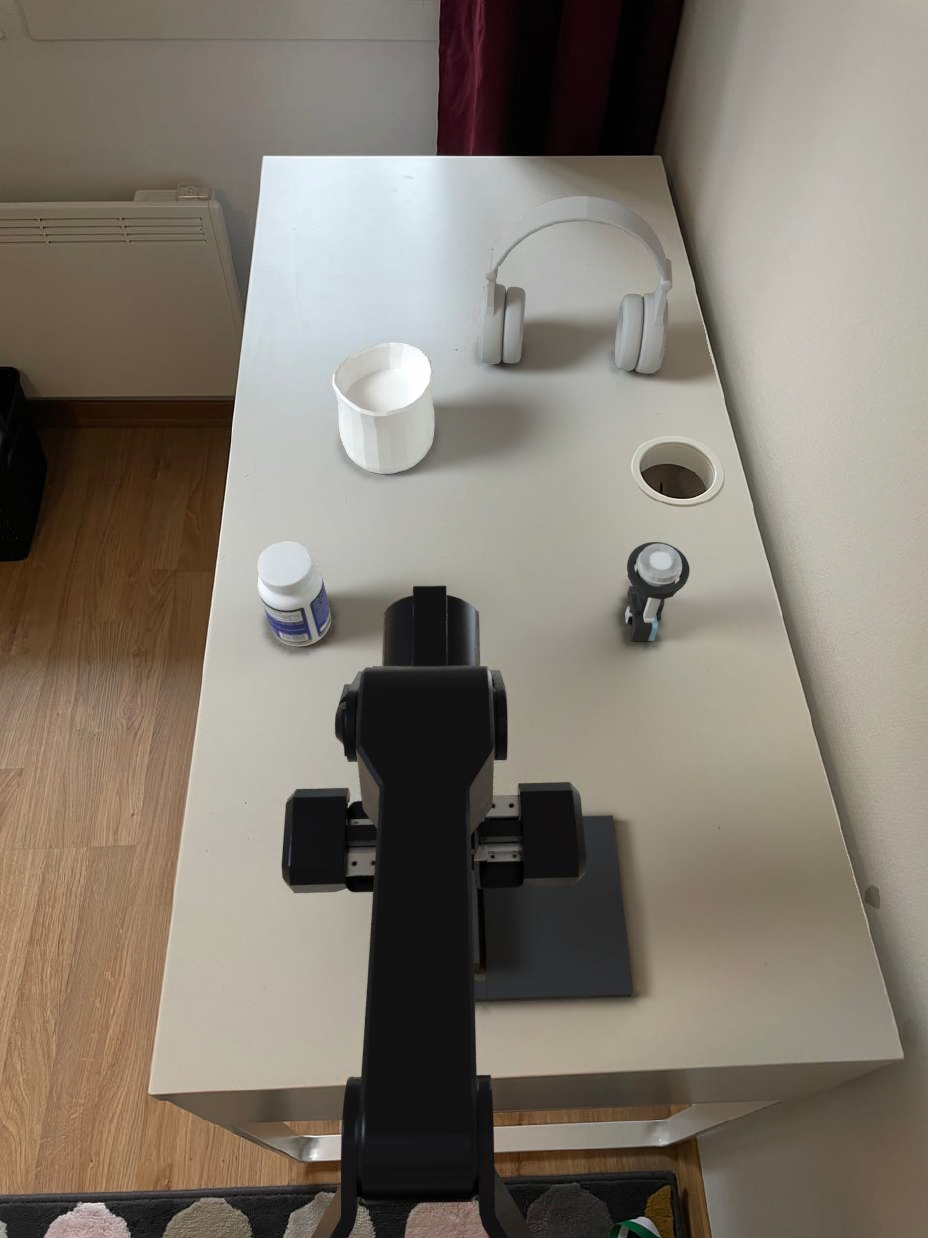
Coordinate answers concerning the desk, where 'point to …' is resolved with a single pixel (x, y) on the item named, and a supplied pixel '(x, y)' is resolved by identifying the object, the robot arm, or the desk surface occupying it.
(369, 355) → the cup
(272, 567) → the pill bottle
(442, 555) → the desk surface
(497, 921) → the base pad
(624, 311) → the headphones
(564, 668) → the desk surface
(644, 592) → the push button
